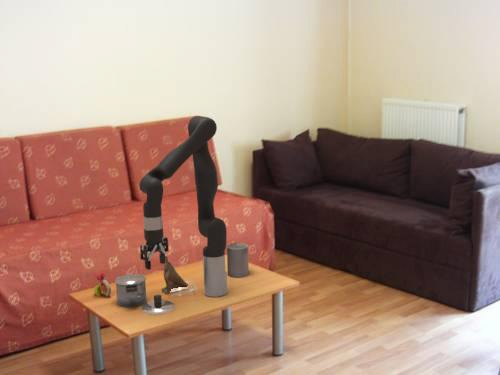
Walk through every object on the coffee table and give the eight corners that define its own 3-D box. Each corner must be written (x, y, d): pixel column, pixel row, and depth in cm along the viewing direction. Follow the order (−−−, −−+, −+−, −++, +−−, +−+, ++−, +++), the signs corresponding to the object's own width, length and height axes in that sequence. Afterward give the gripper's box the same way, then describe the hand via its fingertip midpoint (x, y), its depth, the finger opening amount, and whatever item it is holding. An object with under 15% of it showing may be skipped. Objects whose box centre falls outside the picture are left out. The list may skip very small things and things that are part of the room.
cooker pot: (116, 295, 301) (114, 273, 299) (145, 292, 304) (144, 270, 302) (117, 311, 284) (115, 287, 282) (148, 308, 287) (147, 284, 284)
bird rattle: (114, 299, 304) (101, 287, 308) (119, 278, 299) (106, 266, 303) (102, 303, 299) (89, 291, 304) (107, 282, 294) (94, 270, 299)
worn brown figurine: (167, 300, 302) (156, 262, 296) (161, 296, 306) (151, 258, 300) (191, 288, 307) (181, 251, 301) (185, 285, 312) (175, 248, 306)
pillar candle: (225, 272, 327) (224, 241, 323) (245, 269, 330) (244, 238, 326) (231, 279, 318) (229, 247, 314) (251, 276, 321) (250, 244, 317)
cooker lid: (172, 301, 294) (172, 288, 293) (176, 313, 281) (175, 300, 280) (141, 305, 291) (140, 292, 290) (143, 316, 279) (142, 303, 278)
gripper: (157, 221, 287) (159, 260, 290) (133, 230, 275) (136, 269, 279) (172, 223, 283) (174, 262, 286) (148, 232, 271) (150, 272, 275)
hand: (155, 266), depth 283 cm, fingers open, 8 cm apart
